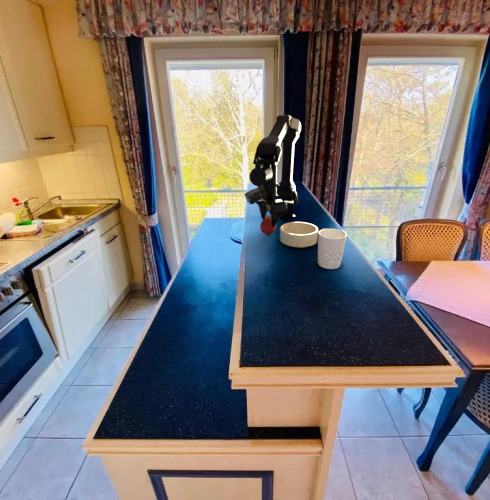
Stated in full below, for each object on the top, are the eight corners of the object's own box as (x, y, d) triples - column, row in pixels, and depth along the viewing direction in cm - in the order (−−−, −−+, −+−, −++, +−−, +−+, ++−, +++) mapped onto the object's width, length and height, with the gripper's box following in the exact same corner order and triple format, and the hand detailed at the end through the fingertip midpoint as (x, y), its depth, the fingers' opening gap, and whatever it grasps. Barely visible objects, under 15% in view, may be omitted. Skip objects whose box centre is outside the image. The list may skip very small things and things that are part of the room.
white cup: (324, 255, 90) (328, 226, 85) (347, 263, 84) (352, 233, 80) (310, 264, 85) (313, 233, 80) (333, 273, 79) (337, 241, 75)
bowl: (273, 237, 104) (274, 224, 102) (304, 232, 108) (305, 220, 106) (290, 251, 93) (291, 237, 91) (324, 245, 97) (325, 231, 95)
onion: (270, 239, 102) (271, 218, 99) (257, 236, 105) (257, 216, 102) (278, 234, 107) (278, 214, 103) (265, 231, 109) (265, 212, 106)
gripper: (238, 177, 102) (239, 218, 109) (256, 187, 87) (257, 234, 93) (266, 175, 106) (265, 214, 113) (288, 184, 90) (287, 229, 97)
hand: (268, 222), depth 104 cm, fingers open, 9 cm apart
